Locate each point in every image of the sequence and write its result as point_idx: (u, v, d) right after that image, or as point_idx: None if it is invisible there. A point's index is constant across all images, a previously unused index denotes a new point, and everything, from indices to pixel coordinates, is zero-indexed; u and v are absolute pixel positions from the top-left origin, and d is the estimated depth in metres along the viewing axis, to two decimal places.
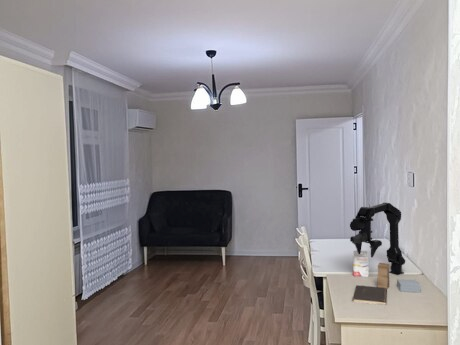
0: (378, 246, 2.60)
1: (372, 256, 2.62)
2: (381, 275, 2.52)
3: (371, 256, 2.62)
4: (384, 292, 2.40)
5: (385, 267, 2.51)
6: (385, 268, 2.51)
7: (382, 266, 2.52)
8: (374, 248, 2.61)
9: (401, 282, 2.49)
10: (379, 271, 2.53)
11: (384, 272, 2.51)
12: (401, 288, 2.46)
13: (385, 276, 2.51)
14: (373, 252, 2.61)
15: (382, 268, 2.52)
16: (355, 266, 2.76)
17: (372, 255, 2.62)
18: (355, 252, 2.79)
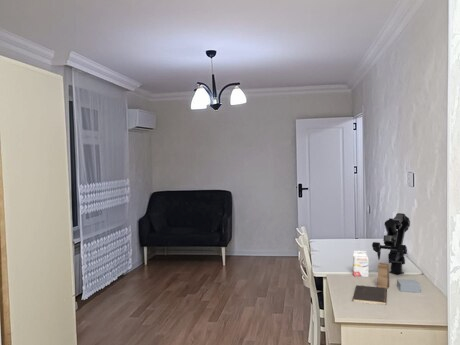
0: (404, 253, 2.60)
1: (396, 260, 2.58)
2: (381, 275, 2.52)
3: (395, 259, 2.58)
4: (384, 292, 2.40)
5: (385, 267, 2.51)
6: (385, 268, 2.51)
7: (382, 266, 2.52)
8: (399, 254, 2.60)
9: (401, 282, 2.49)
10: (379, 271, 2.53)
11: (384, 272, 2.51)
12: (401, 288, 2.46)
13: (385, 276, 2.51)
14: (398, 257, 2.59)
15: (382, 268, 2.52)
16: (355, 266, 2.76)
17: (396, 259, 2.58)
18: (355, 252, 2.79)
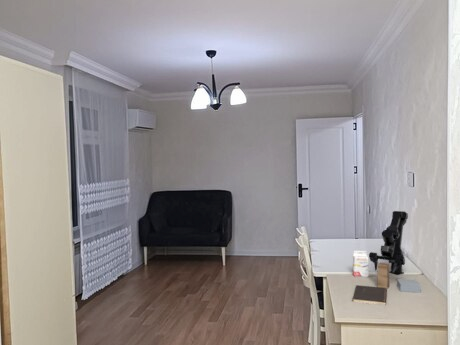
0: (401, 264, 2.55)
1: (393, 271, 2.52)
2: (381, 275, 2.52)
3: (393, 270, 2.52)
4: (384, 292, 2.40)
5: (385, 267, 2.51)
6: (385, 268, 2.51)
7: (382, 266, 2.52)
8: (396, 265, 2.55)
9: (401, 282, 2.49)
10: (379, 271, 2.53)
11: (384, 272, 2.51)
12: (401, 288, 2.46)
13: (385, 276, 2.51)
14: (395, 268, 2.53)
15: (382, 268, 2.52)
16: (355, 266, 2.76)
17: (394, 270, 2.53)
18: (355, 252, 2.79)
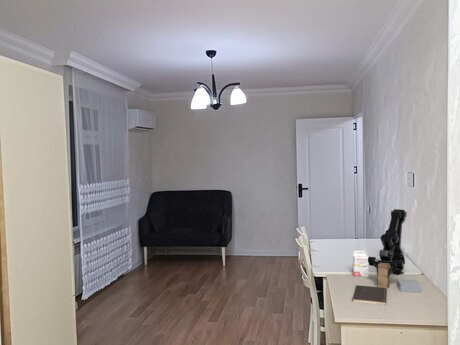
0: (397, 268, 2.54)
1: (389, 275, 2.51)
2: (381, 275, 2.52)
3: (388, 275, 2.51)
4: (384, 292, 2.40)
5: (385, 267, 2.51)
6: (386, 268, 2.51)
7: (382, 266, 2.51)
8: (392, 269, 2.54)
9: (401, 282, 2.49)
10: (379, 271, 2.52)
11: (384, 272, 2.51)
12: (401, 288, 2.46)
13: (385, 276, 2.51)
14: (391, 272, 2.52)
15: (382, 268, 2.52)
16: (355, 266, 2.76)
17: (389, 274, 2.52)
18: (355, 252, 2.79)
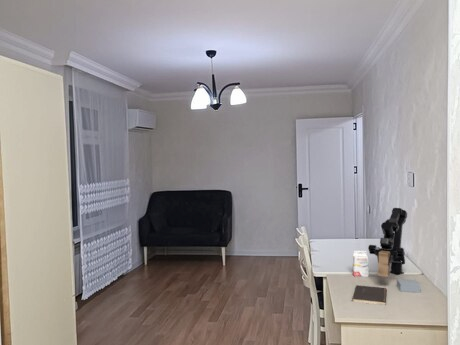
0: (397, 256, 2.54)
1: (389, 263, 2.51)
2: (382, 263, 2.51)
3: (389, 262, 2.51)
4: (384, 292, 2.40)
5: (386, 255, 2.50)
6: (386, 256, 2.50)
7: (383, 254, 2.51)
8: (392, 257, 2.54)
9: (401, 282, 2.49)
10: (380, 259, 2.52)
11: (385, 260, 2.51)
12: (401, 288, 2.46)
13: (386, 264, 2.50)
14: (391, 260, 2.52)
15: (383, 256, 2.51)
16: (355, 266, 2.76)
17: (390, 262, 2.51)
18: (355, 252, 2.79)
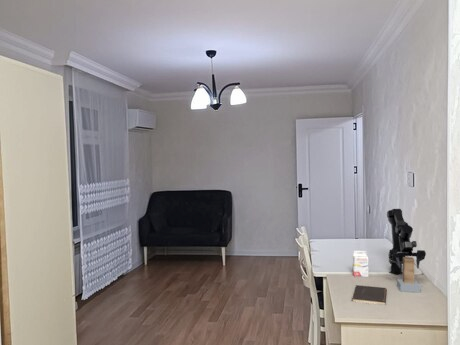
0: (422, 258, 2.52)
1: (418, 267, 2.48)
2: (408, 269, 2.47)
3: (418, 266, 2.47)
4: (384, 292, 2.40)
5: (412, 261, 2.47)
6: (413, 262, 2.47)
7: (409, 260, 2.47)
8: None
9: (401, 282, 2.49)
10: (406, 266, 2.48)
11: (411, 266, 2.47)
12: (401, 288, 2.46)
13: (412, 270, 2.47)
14: None
15: (409, 262, 2.47)
16: (355, 266, 2.76)
17: (418, 266, 2.48)
18: (355, 252, 2.79)
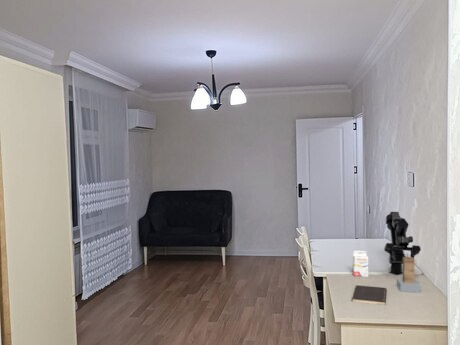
0: (416, 253, 2.61)
1: None
2: (408, 269, 2.47)
3: None
4: (384, 292, 2.40)
5: (412, 261, 2.47)
6: (413, 262, 2.47)
7: (409, 260, 2.47)
8: None
9: (401, 282, 2.49)
10: (406, 266, 2.48)
11: (411, 266, 2.47)
12: (401, 288, 2.46)
13: (412, 270, 2.47)
14: (413, 258, 2.58)
15: (409, 262, 2.47)
16: (355, 266, 2.76)
17: None
18: (355, 252, 2.79)
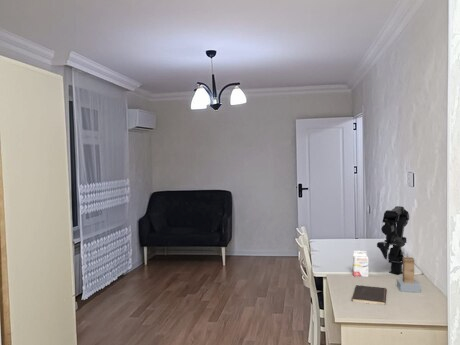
0: None
1: None
2: (408, 269, 2.47)
3: (397, 256, 2.73)
4: (384, 292, 2.40)
5: (412, 261, 2.47)
6: (413, 262, 2.47)
7: (409, 260, 2.47)
8: None
9: (401, 282, 2.49)
10: (406, 266, 2.48)
11: (411, 266, 2.47)
12: (401, 288, 2.46)
13: (412, 270, 2.47)
14: None
15: (409, 262, 2.47)
16: (355, 266, 2.76)
17: (396, 254, 2.74)
18: (355, 252, 2.79)
